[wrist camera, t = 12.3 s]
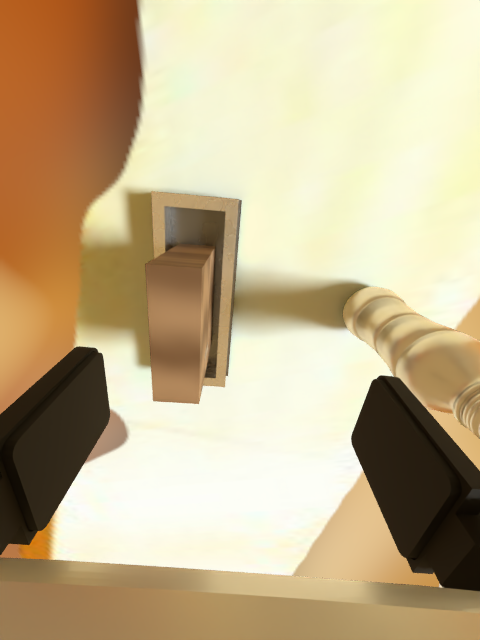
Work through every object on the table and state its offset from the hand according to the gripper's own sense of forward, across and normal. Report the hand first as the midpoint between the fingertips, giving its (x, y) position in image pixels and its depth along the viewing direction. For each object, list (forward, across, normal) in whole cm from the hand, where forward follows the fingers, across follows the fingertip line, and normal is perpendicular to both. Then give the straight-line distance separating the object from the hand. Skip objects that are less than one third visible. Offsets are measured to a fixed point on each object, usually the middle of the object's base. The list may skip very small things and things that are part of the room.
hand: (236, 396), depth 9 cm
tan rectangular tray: (+24, +5, +5) cm, 25 cm away
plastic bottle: (+25, -16, +5) cm, 30 cm away
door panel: (+23, +5, +5) cm, 24 cm away
